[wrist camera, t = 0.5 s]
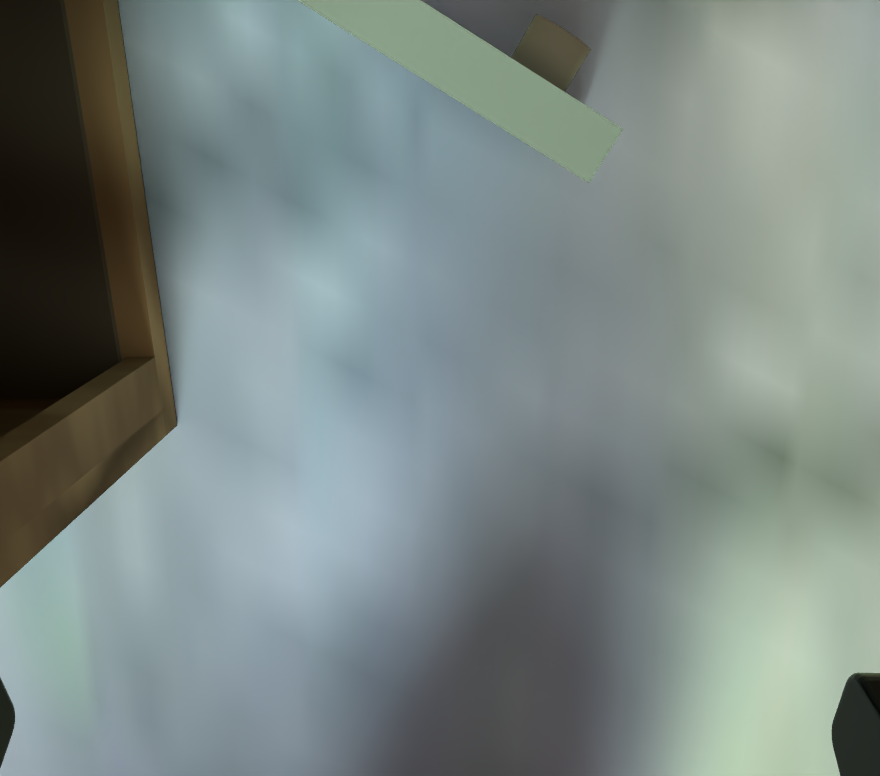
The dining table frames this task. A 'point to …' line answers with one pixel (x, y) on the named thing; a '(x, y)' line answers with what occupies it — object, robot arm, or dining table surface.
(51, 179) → the walnut box
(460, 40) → the door
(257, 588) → the dining table surface
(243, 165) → the dining table surface
